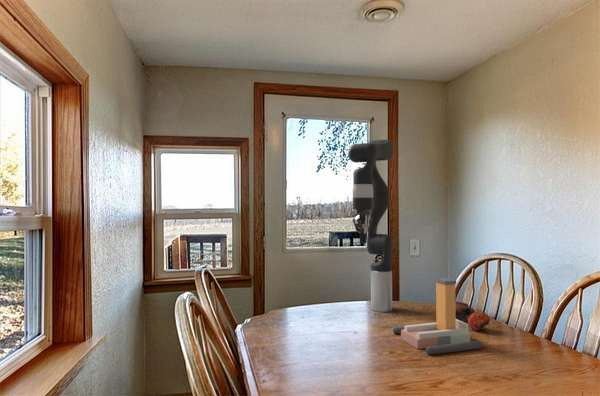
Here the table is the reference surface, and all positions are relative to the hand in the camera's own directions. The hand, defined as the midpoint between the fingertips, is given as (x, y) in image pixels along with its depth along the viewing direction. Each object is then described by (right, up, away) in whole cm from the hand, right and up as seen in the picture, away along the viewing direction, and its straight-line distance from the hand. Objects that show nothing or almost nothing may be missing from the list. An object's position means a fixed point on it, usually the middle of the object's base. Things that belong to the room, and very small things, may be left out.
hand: (363, 243), depth 142 cm
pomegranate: (+43, -32, -2) cm, 54 cm away
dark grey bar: (+25, -32, -22) cm, 46 cm away
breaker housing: (+22, -32, -12) cm, 41 cm away
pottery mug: (+41, -33, +11) cm, 54 cm away
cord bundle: (+20, -32, -2) cm, 38 cm away
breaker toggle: (+27, -29, -11) cm, 41 cm away
